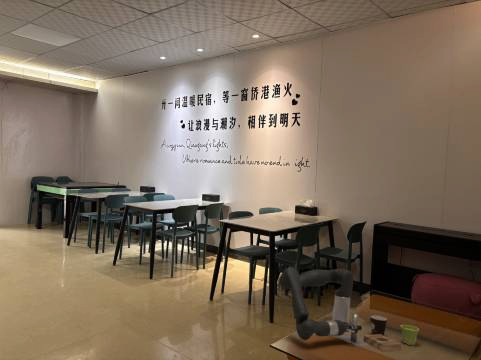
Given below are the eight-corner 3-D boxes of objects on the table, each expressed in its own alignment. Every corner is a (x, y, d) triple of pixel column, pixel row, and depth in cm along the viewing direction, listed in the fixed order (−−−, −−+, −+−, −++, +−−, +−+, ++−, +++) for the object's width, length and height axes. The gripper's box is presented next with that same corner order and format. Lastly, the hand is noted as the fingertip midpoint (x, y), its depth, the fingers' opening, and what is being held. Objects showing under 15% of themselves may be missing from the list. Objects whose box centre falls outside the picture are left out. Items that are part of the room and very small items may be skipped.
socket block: (363, 342, 202) (363, 335, 202) (380, 340, 207) (380, 334, 207) (383, 352, 189) (383, 345, 190) (400, 350, 194) (401, 343, 195)
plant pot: (415, 348, 200) (416, 331, 201) (397, 342, 206) (398, 326, 207) (420, 344, 207) (421, 328, 208) (403, 339, 213) (403, 323, 214)
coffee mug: (387, 339, 210) (388, 321, 211) (370, 337, 212) (372, 318, 213) (383, 333, 222) (384, 315, 222) (368, 330, 223) (369, 313, 224)
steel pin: (349, 340, 201) (351, 313, 202) (353, 340, 203) (355, 313, 204) (353, 342, 198) (355, 315, 199) (357, 342, 200) (359, 315, 201)
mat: (337, 337, 206) (337, 336, 206) (351, 336, 210) (351, 335, 210) (355, 346, 193) (355, 346, 193) (370, 345, 198) (370, 344, 198)
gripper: (324, 330, 201) (349, 329, 208) (341, 340, 188) (367, 338, 196) (325, 316, 202) (350, 315, 209) (342, 325, 189) (368, 323, 196)
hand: (358, 326), depth 202 cm, fingers closed on steel pin, 3 cm apart
